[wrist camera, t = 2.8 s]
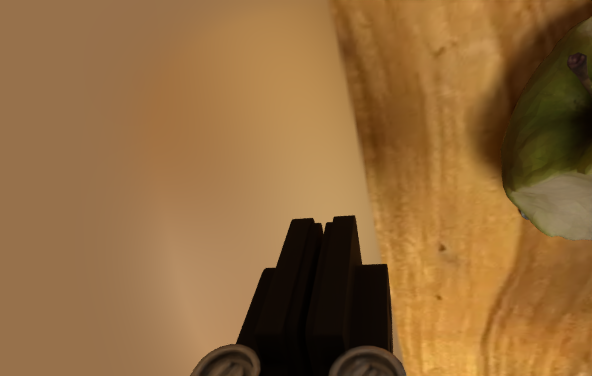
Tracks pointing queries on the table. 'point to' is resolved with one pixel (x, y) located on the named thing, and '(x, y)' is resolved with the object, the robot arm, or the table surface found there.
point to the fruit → (554, 141)
